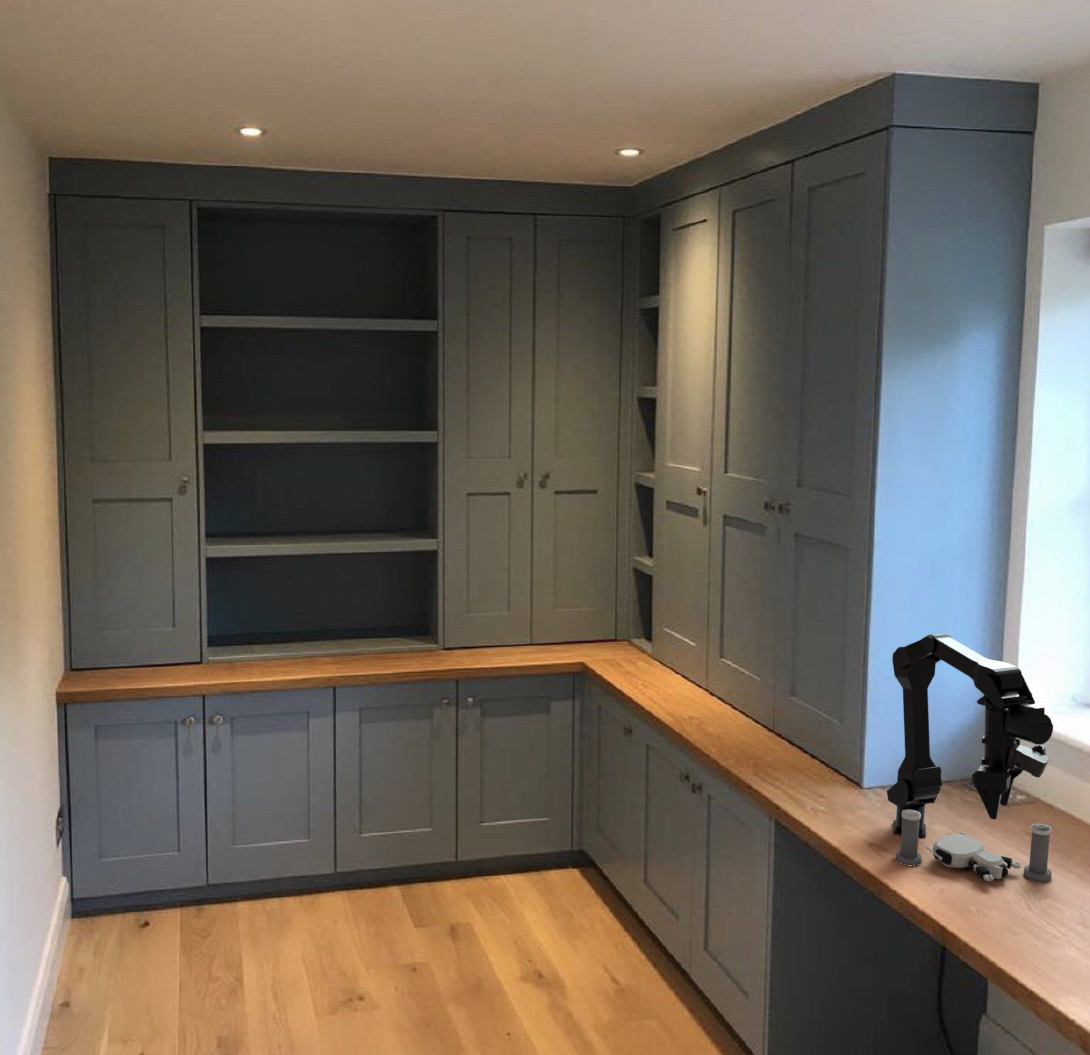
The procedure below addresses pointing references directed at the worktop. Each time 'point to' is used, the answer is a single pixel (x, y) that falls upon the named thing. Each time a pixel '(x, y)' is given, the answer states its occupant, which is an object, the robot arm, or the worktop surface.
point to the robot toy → (971, 856)
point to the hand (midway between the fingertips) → (998, 812)
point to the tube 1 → (909, 839)
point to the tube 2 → (1039, 854)
